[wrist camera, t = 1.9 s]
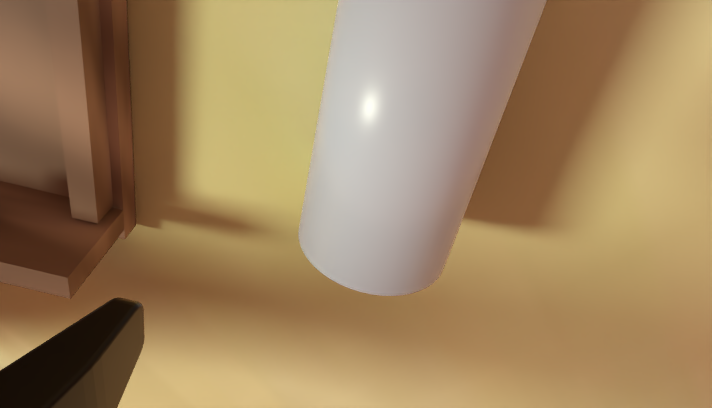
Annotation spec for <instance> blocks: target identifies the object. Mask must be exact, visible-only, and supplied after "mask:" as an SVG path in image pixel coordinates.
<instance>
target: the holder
mask: <svg viewBox="0 0 712 408" xmlns="http://www.w3.org/2000/svg"><path fill="white" fill-rule="evenodd" d="M135 225H136V214H135V190H134V166H133V142H132V118H131V94H130V70H129V47H128V23H127V0H0V282H2V283H6V284H10V285H15V286H19V287H23V288H27V289H32V290H36V291H40V292H44V293H48V294H53V295H57V296H61V297H65V298H70V299H71V297H72V296H73V295H74V293H75V292H76V291H77V290H78V288H79V287H80V286H81V285H82V283H83V282H84V281H85V279H86V278H87V277H88V276H89V274H90V273H91V272H92V270H93V269H94V268H95V267H96V265H97V264H98V263H99V262H100V260H101V259H102V258H103V256H104V255H105V254H106V253H107V251H108V250H109V249H110V247H111V246H112V245H113V244H114V242H115V241H116V240H117V239H118V238H122V239H125V238H126V237H127V236H128V234H129V233H130V232H131V231H132V229H133V228H134V227H135Z"/></svg>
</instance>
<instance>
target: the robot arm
mask: <svg viewBox="0 0 712 408" xmlns="http://www.w3.org/2000/svg"><path fill="white" fill-rule="evenodd" d="M143 343H144V311H143V306H142V304H141V303H139V302H136V301H132V300H128V299H123V298H114V299H112V300H110V301H109V302H107V303H105V304H104V305H102V306H101V307H99V308H98V309H96V310H94V311H93V312H91V313H90V314H88V315H87V316H85V317H83V318H82V319H80V320H79V321H77V322H76V323H74V324H73V325H71V326H69V327H68V328H66V329H65V330H63V331H62V332H60V333H58V334H57V335H55V336H54V337H52V338H51V339H49V340H47V341H46V342H44V343H43V344H41V345H40V346H38V347H37V348H35V349H33V350H32V351H30V352H29V353H27V354H26V355H24V356H22V357H21V358H19V359H18V360H16V361H15V362H13V363H11V364H10V365H8V366H7V367H5V368H4V369H2V370H1V371H0V408H117V407H118V404H119V402H120V400H121V397H122V395H123V393H124V390H125V388H126V386H127V383H128V381H129V379H130V376H131V374H132V372H133V369H134V367H135V365H136V362H137V360H138V358H139V355H140V353H141V350H142V347H143Z"/></svg>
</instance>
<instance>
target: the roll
mask: <svg viewBox="0 0 712 408" xmlns="http://www.w3.org/2000/svg"><path fill="white" fill-rule="evenodd" d="M546 2H547V0H338V6H337V12H336V17H335V23H334V29H333V35H332V41H331V46H330V52H329V58H328V64H327V69H326V75H325V81H324V87H323V92H322V98H321V104H320V110H319V116H318V121H317V127H316V133H315V139H314V144H313V150H312V156H311V162H310V167H309V173H308V179H307V185H306V191H305V196H304V202H303V208H302V214H301V219H300V225H299V233H298V235H299V242H300V246H301V248H302V250H303V252H304V254H305V256H306V257H307V259H308V260H309V261H310V262H311V264H312V265H313V266H314V267H315V268H316V269H318V270H319V271H320V272H321V273H322V274H324V275H325V276H327V277H328V278H329V279H331V280H333V281H335V282H337V283H338V284H340V285H343V286H345V287H347V288H350V289H353V290H356V291H359V292H363V293H368V294H373V295H381V296H398V295H406V294H411V293H414V292H418V291H420V290H423V289H425V288H427V287H428V286H430V285H431V284H433V283H434V282H435V281H436V280H437V279H438V278H439V276H440V275H441V273H442V271H443V269H444V266H445V264H446V261H447V259H448V256H449V253H450V251H451V248H452V246H453V243H454V240H455V238H456V235H457V233H458V230H459V227H460V225H461V222H462V220H463V217H464V214H465V212H466V209H467V207H468V204H469V201H470V199H471V196H472V194H473V191H474V189H475V186H476V183H477V181H478V178H479V176H480V173H481V170H482V168H483V165H484V163H485V160H486V157H487V155H488V152H489V150H490V147H491V144H492V142H493V139H494V137H495V134H496V131H497V129H498V126H499V124H500V121H501V118H502V116H503V113H504V111H505V108H506V105H507V103H508V100H509V98H510V95H511V92H512V90H513V87H514V85H515V82H516V79H517V77H518V74H519V72H520V69H521V67H522V64H523V61H524V59H525V56H526V54H527V51H528V48H529V46H530V43H531V41H532V38H533V35H534V33H535V30H536V28H537V25H538V22H539V20H540V17H541V15H542V12H543V9H544V7H545V4H546Z"/></svg>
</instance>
